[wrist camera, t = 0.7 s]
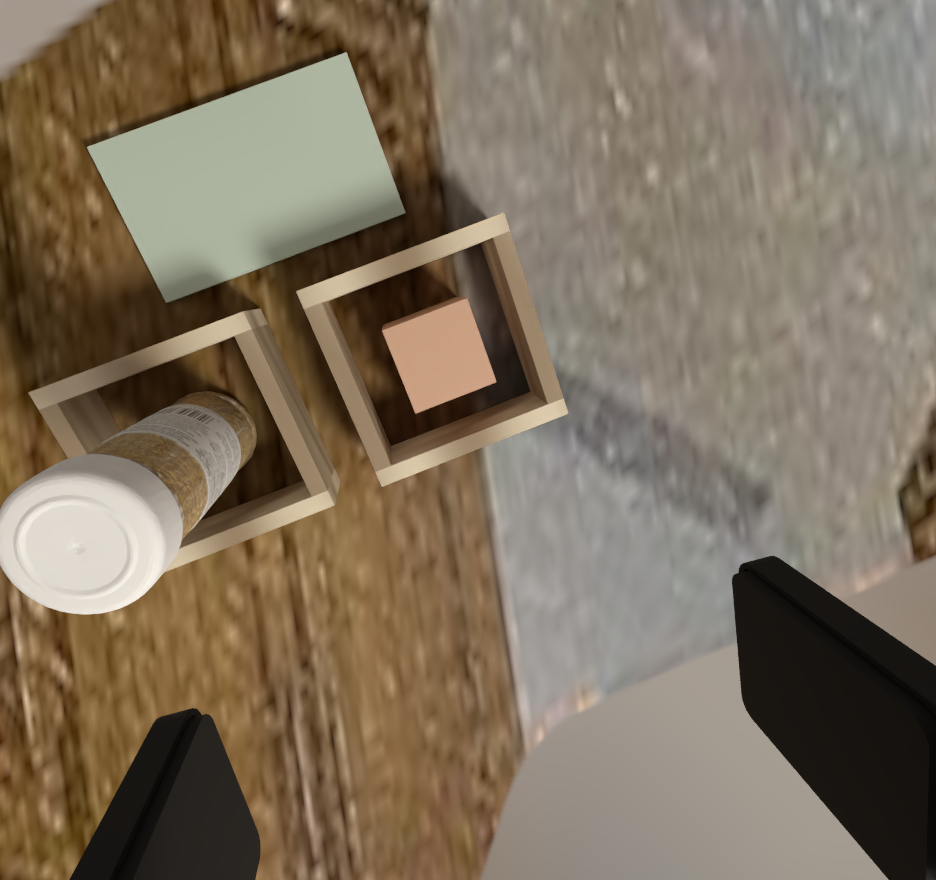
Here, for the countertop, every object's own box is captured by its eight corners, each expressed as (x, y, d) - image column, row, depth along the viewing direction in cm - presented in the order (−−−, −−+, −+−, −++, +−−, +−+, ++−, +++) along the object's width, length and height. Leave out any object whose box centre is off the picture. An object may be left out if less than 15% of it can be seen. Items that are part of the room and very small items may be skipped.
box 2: (490, 221, 28) (503, 212, 25) (548, 400, 31) (568, 413, 28) (306, 290, 28) (296, 291, 25) (382, 465, 31) (381, 486, 27)
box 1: (260, 308, 28) (242, 311, 25) (340, 481, 31) (334, 505, 27) (72, 379, 28) (28, 392, 24) (169, 548, 30) (142, 580, 27)
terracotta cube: (456, 296, 29) (467, 298, 25) (482, 370, 30) (496, 382, 26) (382, 324, 29) (381, 330, 25) (412, 397, 30) (415, 413, 26)
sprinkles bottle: (153, 456, 29) (-34, 592, 16) (182, 373, 28) (9, 447, 15) (242, 488, 30) (133, 639, 17) (273, 410, 29) (183, 507, 16)
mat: (347, 55, 26) (346, 52, 25) (405, 213, 28) (405, 212, 27) (91, 149, 25) (86, 147, 25) (169, 302, 27) (166, 302, 27)
